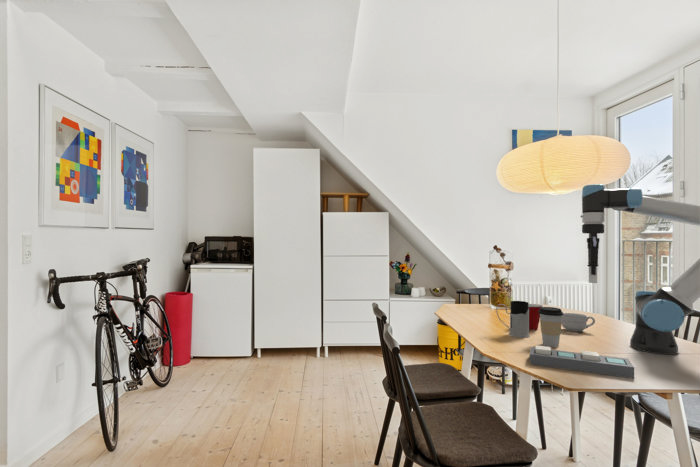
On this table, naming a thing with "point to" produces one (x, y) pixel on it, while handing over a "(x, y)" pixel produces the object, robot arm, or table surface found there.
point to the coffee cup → (550, 325)
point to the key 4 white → (543, 350)
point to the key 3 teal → (566, 355)
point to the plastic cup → (534, 316)
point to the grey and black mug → (518, 319)
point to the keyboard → (582, 363)
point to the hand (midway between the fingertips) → (592, 282)
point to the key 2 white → (590, 355)
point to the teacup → (575, 322)
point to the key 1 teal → (615, 361)
